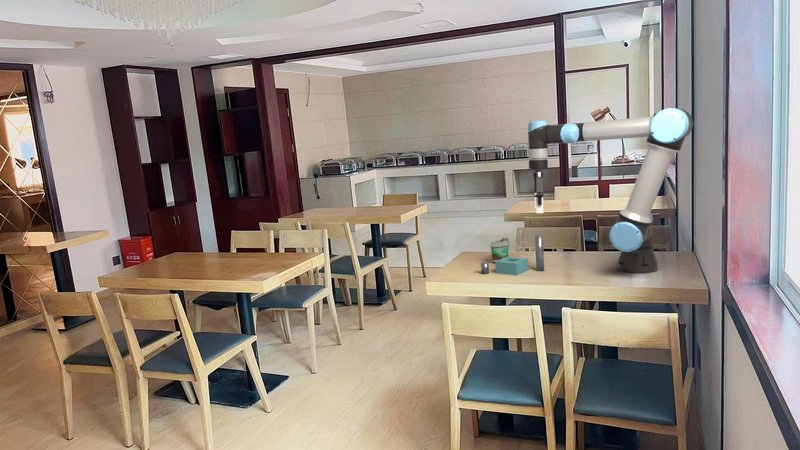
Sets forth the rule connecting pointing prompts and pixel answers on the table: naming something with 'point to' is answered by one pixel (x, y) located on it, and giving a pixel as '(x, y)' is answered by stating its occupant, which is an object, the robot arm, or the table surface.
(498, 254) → the food container
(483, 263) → the short pin
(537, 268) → the long pin
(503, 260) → the drilled block
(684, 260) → the table surface
